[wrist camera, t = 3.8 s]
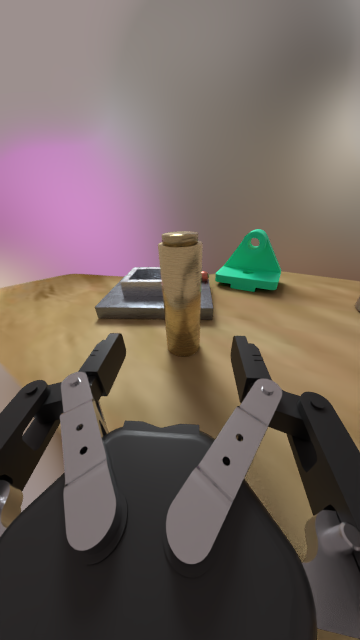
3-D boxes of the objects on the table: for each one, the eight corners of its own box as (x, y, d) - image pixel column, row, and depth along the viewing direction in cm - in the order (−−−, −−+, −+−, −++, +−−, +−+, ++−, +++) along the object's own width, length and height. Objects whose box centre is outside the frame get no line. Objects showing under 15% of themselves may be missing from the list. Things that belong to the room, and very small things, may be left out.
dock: (207, 284, 39) (208, 263, 37) (212, 319, 28) (214, 292, 25) (126, 284, 41) (122, 264, 38) (98, 318, 29) (89, 292, 27)
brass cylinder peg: (199, 335, 24) (202, 230, 17) (199, 357, 21) (203, 237, 14) (169, 335, 25) (161, 231, 18) (165, 356, 21) (152, 238, 14)
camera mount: (213, 286, 39) (217, 233, 33) (224, 275, 45) (229, 228, 39) (274, 296, 34) (290, 236, 28) (278, 282, 40) (292, 230, 34)
